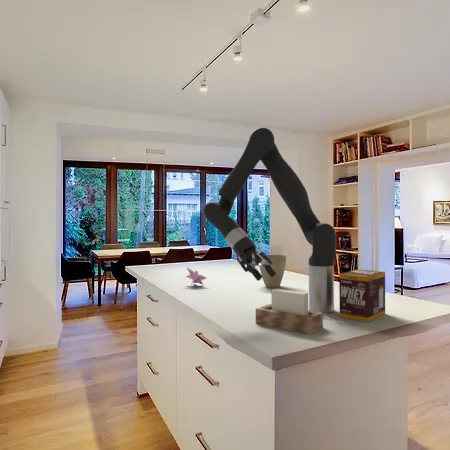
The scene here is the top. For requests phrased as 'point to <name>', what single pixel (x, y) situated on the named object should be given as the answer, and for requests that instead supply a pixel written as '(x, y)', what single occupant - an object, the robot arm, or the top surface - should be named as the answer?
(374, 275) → the supplement box
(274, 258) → the plant pot
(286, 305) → the white rectangular block
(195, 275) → the lily
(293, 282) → the top surface
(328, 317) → the scissors
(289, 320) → the walnut box
